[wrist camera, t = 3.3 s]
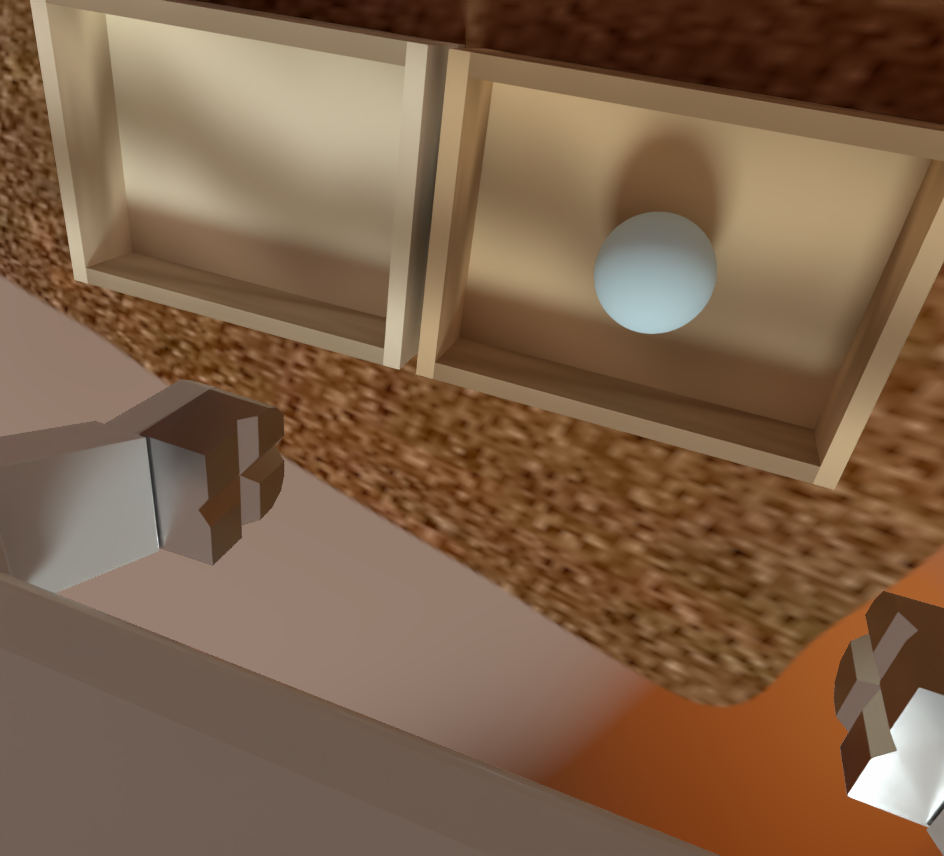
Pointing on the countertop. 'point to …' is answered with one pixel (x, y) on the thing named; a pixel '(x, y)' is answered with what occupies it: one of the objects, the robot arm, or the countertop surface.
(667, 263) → the ball
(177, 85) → the box far
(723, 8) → the countertop surface
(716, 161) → the box near
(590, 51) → the countertop surface
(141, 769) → the robot arm
